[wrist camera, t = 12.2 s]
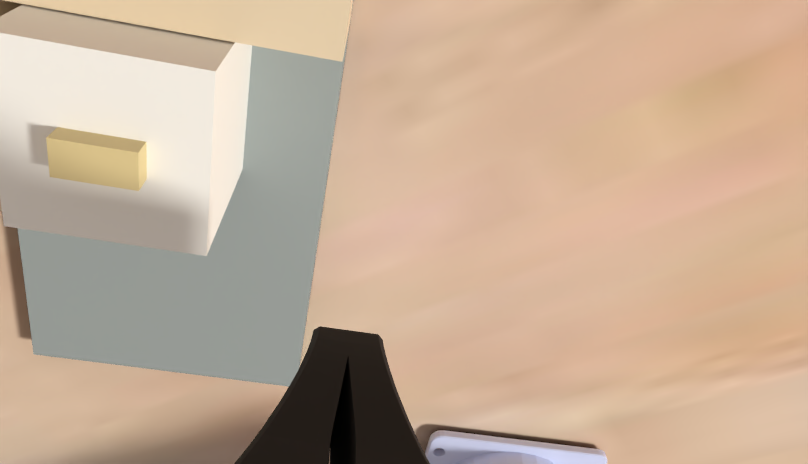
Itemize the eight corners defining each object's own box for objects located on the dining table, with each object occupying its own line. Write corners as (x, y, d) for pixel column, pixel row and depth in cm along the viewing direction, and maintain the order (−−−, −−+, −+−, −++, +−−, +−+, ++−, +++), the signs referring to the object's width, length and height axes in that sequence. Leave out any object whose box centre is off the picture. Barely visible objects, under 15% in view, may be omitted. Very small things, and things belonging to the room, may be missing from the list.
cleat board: (298, 373, 28) (285, 447, 24) (42, 340, 26) (-6, 413, 23) (358, -35, 19) (352, -4, 16) (-10, -108, 18) (-97, -90, 15)
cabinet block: (242, 168, 22) (201, 269, 17) (81, 142, 21) (-8, 238, 16) (254, 13, 19) (209, 80, 14) (71, -22, 19) (-38, 36, 14)
